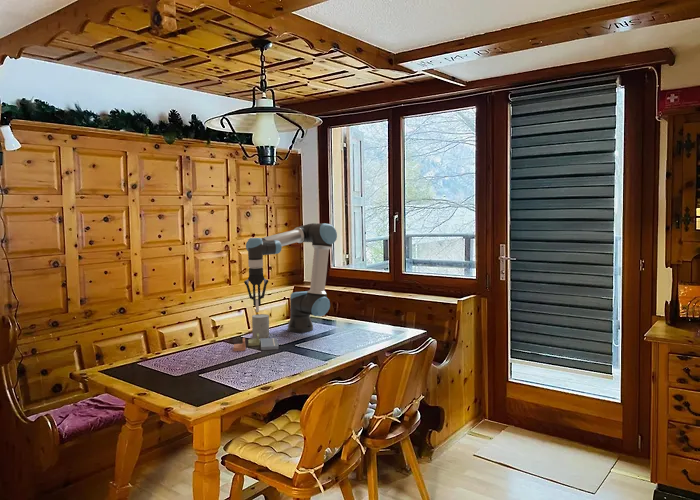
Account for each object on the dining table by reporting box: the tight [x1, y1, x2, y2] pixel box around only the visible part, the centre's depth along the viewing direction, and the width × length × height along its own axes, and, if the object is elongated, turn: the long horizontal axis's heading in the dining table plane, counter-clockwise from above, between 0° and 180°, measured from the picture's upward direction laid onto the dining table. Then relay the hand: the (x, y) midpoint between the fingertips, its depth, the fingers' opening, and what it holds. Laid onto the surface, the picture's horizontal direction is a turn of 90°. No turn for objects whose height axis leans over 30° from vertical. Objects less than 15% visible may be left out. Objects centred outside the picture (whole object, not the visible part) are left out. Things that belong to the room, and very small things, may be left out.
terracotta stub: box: [233, 337, 247, 352], centre depth 283 cm, size 6×8×5 cm
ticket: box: [259, 337, 280, 351], centre depth 291 cm, size 9×18×2 cm, turn 11°
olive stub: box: [247, 333, 261, 347], centre depth 293 cm, size 6×8×5 cm
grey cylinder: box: [251, 313, 270, 340], centre depth 308 cm, size 10×10×12 cm
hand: (257, 311), depth 286 cm, fingers closed
